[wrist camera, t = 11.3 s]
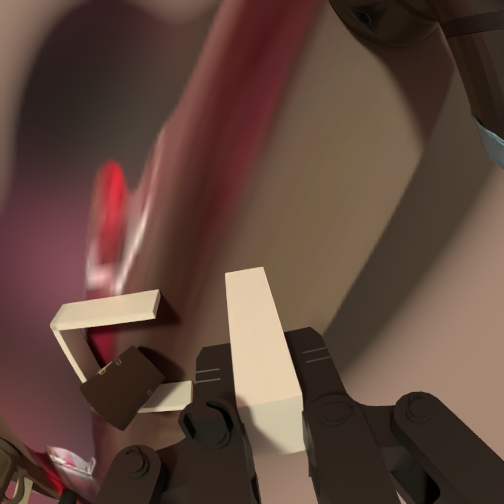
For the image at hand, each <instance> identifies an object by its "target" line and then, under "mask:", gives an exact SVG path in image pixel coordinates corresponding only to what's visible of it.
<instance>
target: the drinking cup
mask: <svg viewBox="0 0 504 504" xmlns="http://www.w3.org/2000/svg"><path fill="white" fill-rule="evenodd" d="M76 501H77V494H76V493H75V492H73V491H71V490H69V489H63V491H62V494H61V497H60V500H59V503H58V504H76Z"/></svg>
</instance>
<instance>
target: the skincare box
mask: <svg viewBox="0 0 504 504" xmlns="http://www.w3.org/2000/svg"><path fill="white" fill-rule="evenodd" d="M18 480H19V479H18ZM24 483H25V493H24V497H23V499H22V500H21V501H20V503H19V504H28V500H29V496H30V492H31V488H32V484H33V481H31V480H29V479H28V478H26V477H24ZM17 489H18V482H17V486H16V489H15V493H14V497H15V495H16V493H17ZM14 497H13V498H14Z"/></svg>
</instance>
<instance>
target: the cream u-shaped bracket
mask: <svg viewBox="0 0 504 504" xmlns="http://www.w3.org/2000/svg"><path fill="white" fill-rule="evenodd" d="M160 297H161V295H160V292H159V289H158V290H152V291H146V292H140V293H134V294H127V295H121V296H115V297H108V298H102V299H95V300H89V301H82V302H76V303H69V304H63V305H62V307H61V308H60V310H59V311H58V312H57V314H56V316H55V317H54V319H53V320H52V322H51V323H50V327H51V329H52V330H53V332H54V334H55V336H56V338H57V340H58V342H59V344H60V345H61V347H62V349H63V350H64V353H65V354H66V356H67V358H68V359H69V361H70V363H71V365H72V366H73V368H74V370H75V371H76V373H77V375H78V376H79V378H80V379H81V381H82V382H83V383H84V382H85V381H87V380H88V379H89V378H91V377H92V376H93V375H95V374H96V373H97V372H99V371H100V370H101V368H100V366H99V364H98V362H97V361H96V359H95V357H94V355H93V353H92V351H91V349H90V348H89V346H88V344H87V342H86V340H85V338H84V336H83V334H82V332H81V330H80V328H85V327H94V326H102V325H110V324H118V323H126V322H133V321H141V320H148V319H155V317H156V313H157V309H158V305H159V301H160ZM192 398H193V384H192V381H184V382H175V383H166V384H160V385H159V387H158V388H157V389H156V391H155V392H154V393H153V394H152V396H151V397H150V398H149V399H148V401H147V402H146V403H145V405H144V406H143V407H142V408H141V410H140V411H139V412H138V413H141V412H158V411H171V410H182V409H184V408H185V407H186V405H188V404H190V403H191V402H192Z"/></svg>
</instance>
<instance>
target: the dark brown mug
mask: <svg viewBox="0 0 504 504" xmlns="http://www.w3.org/2000/svg"><path fill="white" fill-rule="evenodd" d="M165 378H166V377H165V376H164V375H163V374H162V373H161V372H160V371H159V370H158V369H157V368H156V367H155V366H154V365H153V364H152V363H151V362H150V361H149V360H148V359H147V358H146V357H145V356H144V355H143V354H142V353H141V352H140V351H139V350H138V349H137V348H136V347H135V346H134V345H133V346H131V347H130V348H129V349H127V350H126V351H125V352H124V353H122V354H121V355H120V356H118V357H117V358H116V359H114V360H113V361H112V362H110V363H109V364H108V365H106V366H105V367H104V368H103V369H101V370H100V371H99V372H97V373H96V374H95V375H93V376H92V377H91V378H89V379H88V380H87V381H85V382H84V383H83V384H81V385H80V390H81V392H82V394H83V395H84V397H85V398H86V400H87V401H88V402H89V404H90V405H91V406H92V407H93V408H94V409H95V410H96V411H97V412H98V413H99V414H100V415H101V416H102V417H103V418H104V419H105V420H106V421H108V422H109V423H110V424H111V425H113V426H114V427H116V428H117V429H119V430H122V431H124V430H125V429H126V428H127V426H128V425H129V424H130V422H131V421H132V420H133V419H134V417H135V416H136V415H137V414H138V412H139V411H140V410H141V408H142V407H143V406H144V405H145V403H146V402H147V401H148V399H149V398H150V397H151V396H152V394H153V393H154V392H155V391H156V389H157V388H158V387H159V385H160V384H161V383H162V382H163V380H164V379H165Z"/></svg>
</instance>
